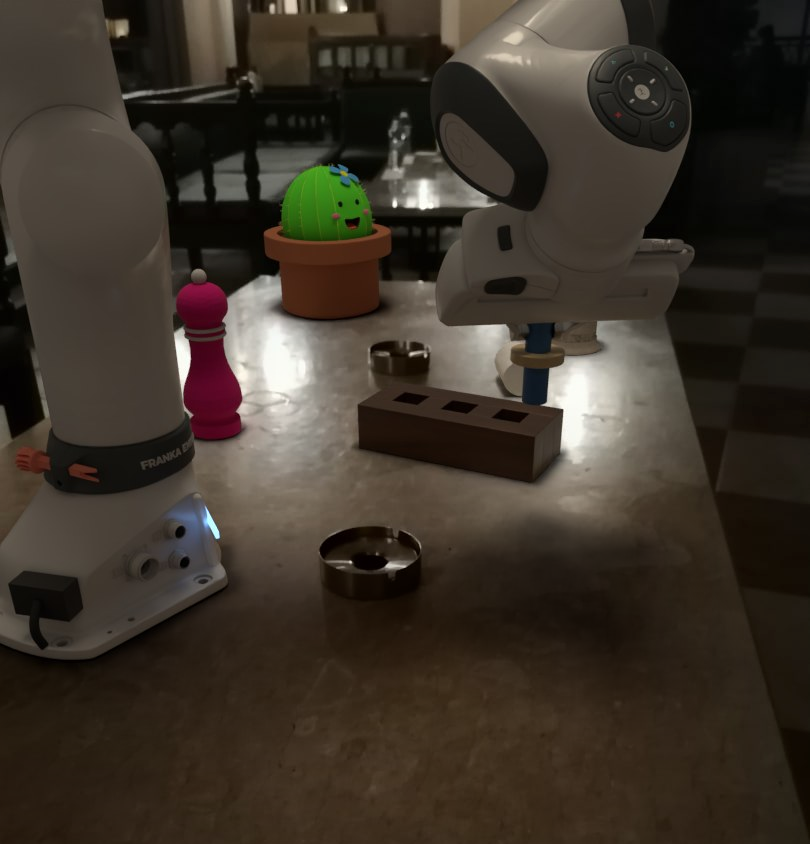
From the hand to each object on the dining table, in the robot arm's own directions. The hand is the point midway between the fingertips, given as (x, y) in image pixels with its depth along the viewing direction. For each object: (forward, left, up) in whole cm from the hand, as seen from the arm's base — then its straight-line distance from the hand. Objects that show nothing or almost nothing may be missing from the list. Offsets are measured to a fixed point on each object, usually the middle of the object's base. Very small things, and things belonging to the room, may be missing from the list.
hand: (536, 333), depth 84 cm
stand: (+12, +13, -19) cm, 26 cm away
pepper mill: (+4, +43, -19) cm, 48 cm away
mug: (+59, +17, -19) cm, 65 cm away
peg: (-1, 0, -6) cm, 6 cm away
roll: (+38, +16, -19) cm, 46 cm away
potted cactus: (+62, +62, -19) cm, 90 cm away
